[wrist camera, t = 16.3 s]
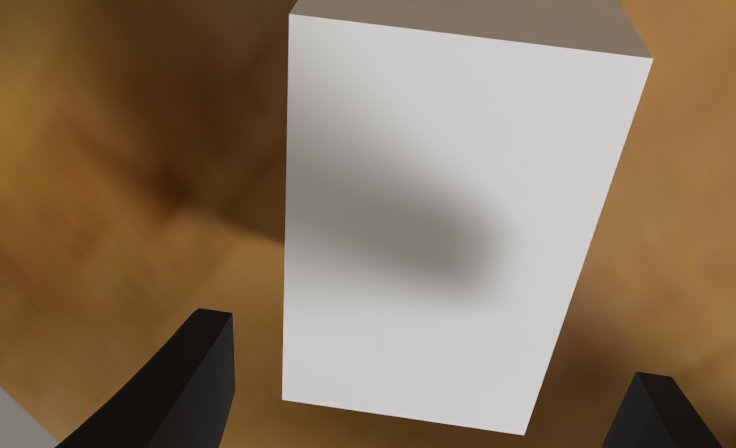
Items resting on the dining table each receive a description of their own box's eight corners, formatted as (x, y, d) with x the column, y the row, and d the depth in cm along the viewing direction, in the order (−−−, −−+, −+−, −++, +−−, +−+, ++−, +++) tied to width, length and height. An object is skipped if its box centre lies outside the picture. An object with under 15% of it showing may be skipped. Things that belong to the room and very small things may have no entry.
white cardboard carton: (339, -66, 17) (289, 13, 12) (596, -36, 16) (653, 58, 12) (321, 257, 22) (282, 399, 18) (510, 283, 22) (524, 435, 17)
